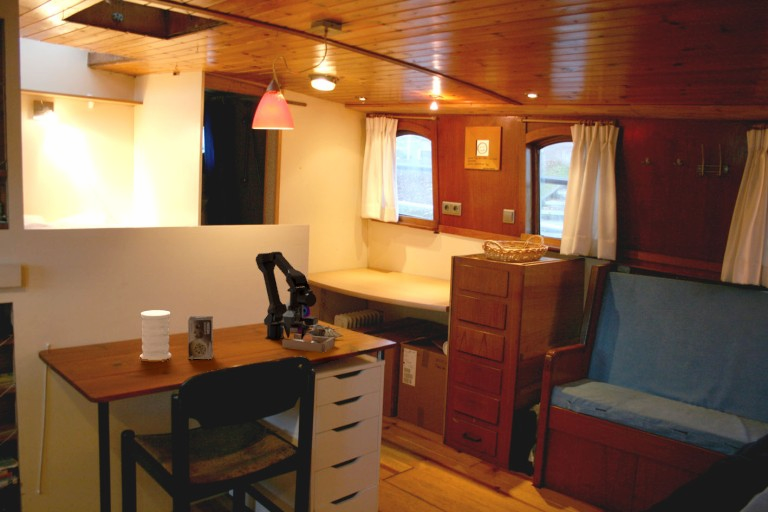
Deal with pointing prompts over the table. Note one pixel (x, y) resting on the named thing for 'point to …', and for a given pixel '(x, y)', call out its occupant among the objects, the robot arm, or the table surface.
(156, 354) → the decorative container
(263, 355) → the table surface
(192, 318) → the coffee box
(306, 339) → the ball
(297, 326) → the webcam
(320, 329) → the figurine
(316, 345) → the shallow open tray
